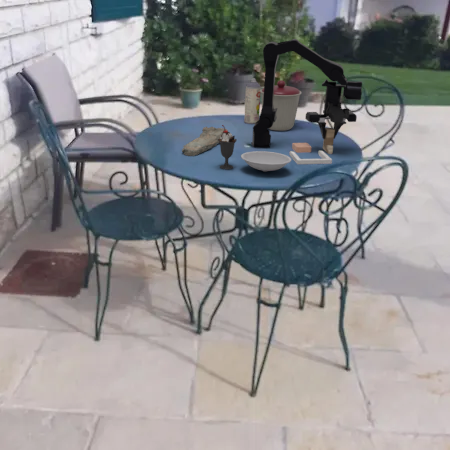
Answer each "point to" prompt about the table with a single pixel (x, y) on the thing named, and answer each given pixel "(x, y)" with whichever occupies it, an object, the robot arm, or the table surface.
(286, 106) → the canister
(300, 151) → the tile
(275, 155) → the dish
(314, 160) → the corral
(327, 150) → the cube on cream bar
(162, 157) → the table surface
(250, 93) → the aerosol can
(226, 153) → the sundae
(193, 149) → the elongated rock
